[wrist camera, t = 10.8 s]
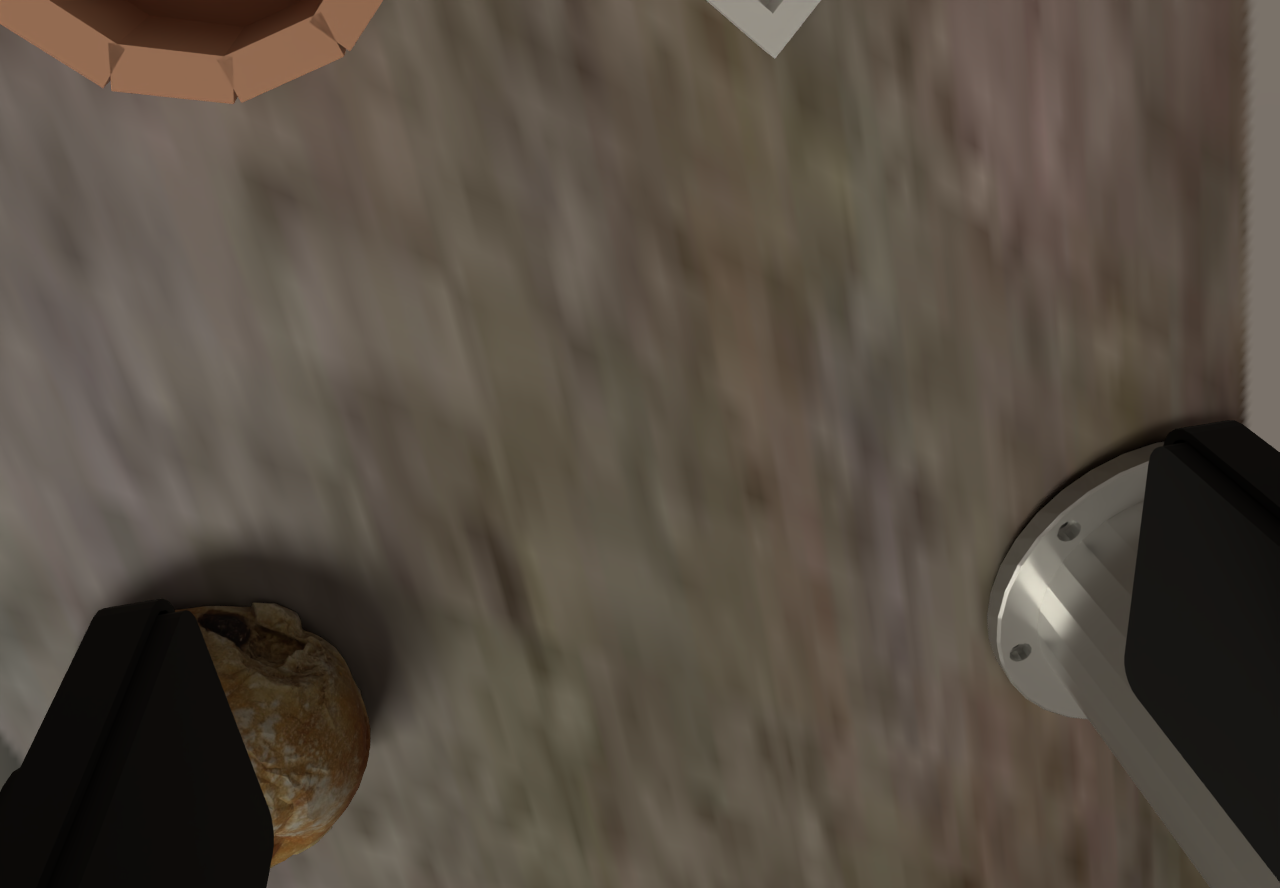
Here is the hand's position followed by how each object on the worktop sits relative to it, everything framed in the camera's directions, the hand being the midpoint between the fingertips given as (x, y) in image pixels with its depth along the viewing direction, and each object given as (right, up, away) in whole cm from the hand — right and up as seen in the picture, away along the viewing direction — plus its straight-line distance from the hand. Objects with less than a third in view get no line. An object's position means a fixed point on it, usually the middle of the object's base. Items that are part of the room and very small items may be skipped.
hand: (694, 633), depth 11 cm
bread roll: (-15, -7, +28) cm, 33 cm away
